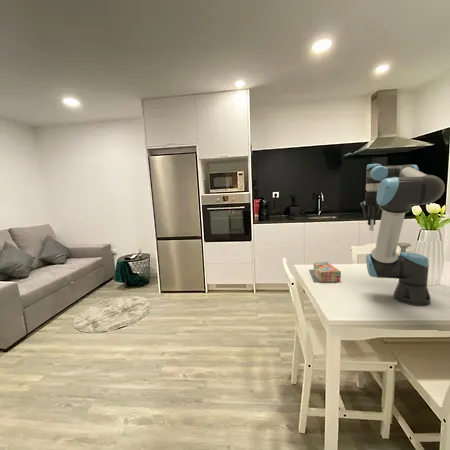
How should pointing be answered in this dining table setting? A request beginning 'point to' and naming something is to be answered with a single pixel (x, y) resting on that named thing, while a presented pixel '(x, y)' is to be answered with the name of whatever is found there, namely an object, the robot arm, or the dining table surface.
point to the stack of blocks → (326, 272)
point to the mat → (317, 279)
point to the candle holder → (403, 246)
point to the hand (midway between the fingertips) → (371, 230)
